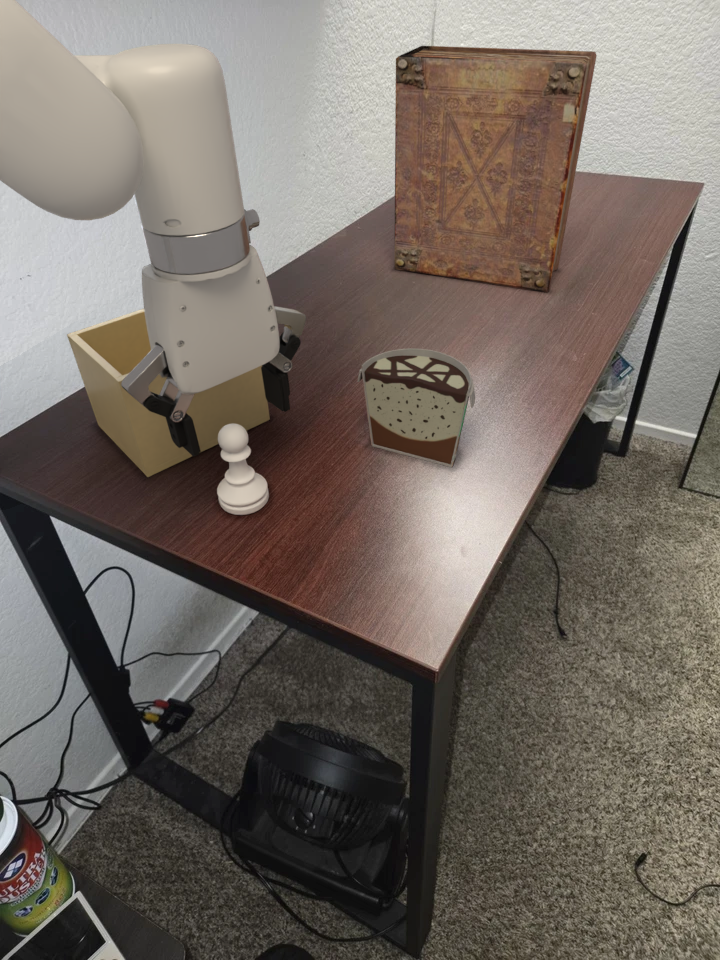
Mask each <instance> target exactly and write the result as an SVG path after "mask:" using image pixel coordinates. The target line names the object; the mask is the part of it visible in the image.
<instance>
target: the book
mask: <svg viewBox="0 0 720 960" xmlns="http://www.w3.org/2000/svg"><path fill="white" fill-rule="evenodd" d="M597 57H598V56H597V53H596V51H594V50H593V51H590V50H588V51H587V50H563V49H561V50H560V49H531V48H500V47H499V48H498V47H473V46H471V47H470V46H446V45H445V46H440V45H420V46H418V47H416V48H414V49H410V50H409V51H407V52H405V53H402V54H400V55H397V57H396V58H395V107H394V108H395V111H394V112H395V113H394V115H395V117H394V119H395V122H394V124H395V128H394V129H395V131H394V132H395V133H394V134H395V136H394V150H395V151H394V155H395V156H394V250H393V251H394V256H393V257H394V261H393V265H394V267H393V268H394V269H395V270H399V271H406V272H410V273H411V272H412V273H418V274H425V275H431V276H437V277H443V278H448V279H449V278H451V279H456V280H463V281H468V282H469V281H470V282H477V283H482V284H489V285H496V286H502V287H508V288H515V289H522V290H528V291H534V292H539V293H540V292H541V293H548V292H549V291H550V290H551V284H552V278H553V273H554V271H557V270H558V269H559V267H560V261H561V260H560V259H561V255H562V250H563V244H564V239H565V233H566V228H567V227H566V226H567V221H568V218H569V217H568V216H569V211H570V204H571V199H572V193H573V189H574V183H575V178H576V172H577V166H578V161H579V155H580V150H581V146H582V145H581V143H582V138H583V133H584V128H585V122H586V117H587V110H588V105H589V100H590V95H591V94H590V93H591V88H592V84H593V78H594V72H595V67H596V61H597Z"/></svg>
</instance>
